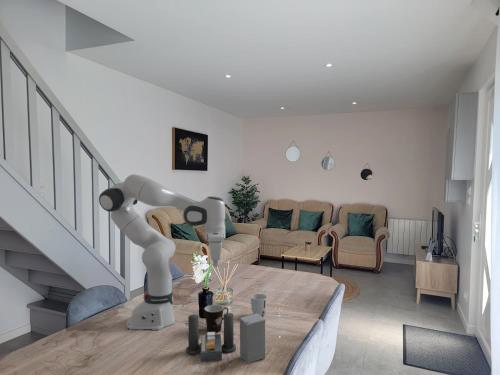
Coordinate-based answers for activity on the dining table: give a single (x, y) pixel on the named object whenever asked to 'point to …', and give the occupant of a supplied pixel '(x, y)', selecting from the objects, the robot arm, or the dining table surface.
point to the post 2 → (228, 334)
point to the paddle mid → (211, 339)
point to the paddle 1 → (210, 334)
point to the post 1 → (193, 335)
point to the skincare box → (252, 338)
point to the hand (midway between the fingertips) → (215, 265)
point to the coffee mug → (214, 317)
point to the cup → (259, 304)
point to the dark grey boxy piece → (212, 353)
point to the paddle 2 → (210, 345)
